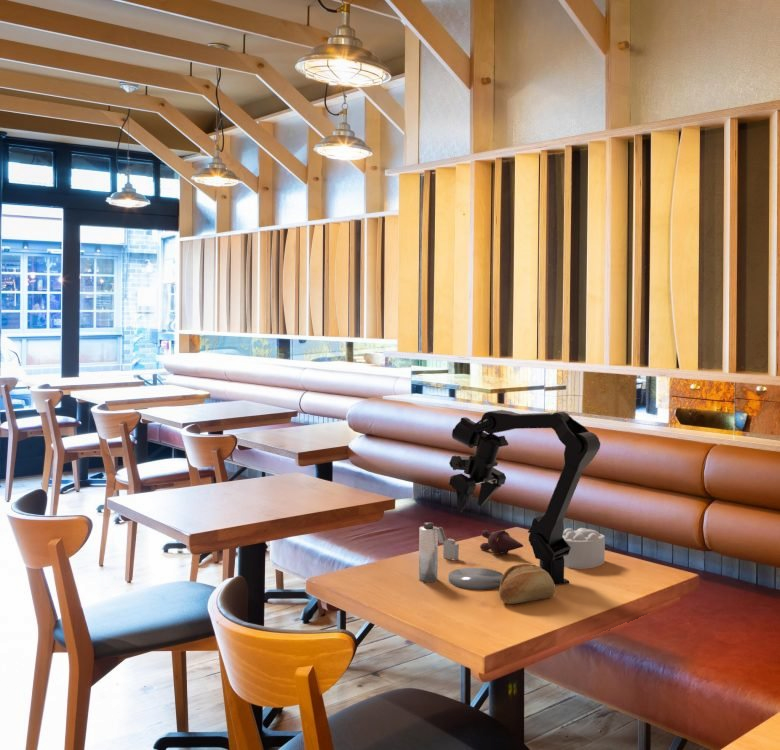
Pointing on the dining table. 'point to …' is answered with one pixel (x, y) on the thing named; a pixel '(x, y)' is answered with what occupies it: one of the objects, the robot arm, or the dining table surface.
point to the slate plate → (475, 578)
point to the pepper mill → (428, 552)
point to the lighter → (448, 546)
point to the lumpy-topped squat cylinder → (584, 548)
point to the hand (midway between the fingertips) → (469, 508)
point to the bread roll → (525, 584)
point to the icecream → (499, 542)
